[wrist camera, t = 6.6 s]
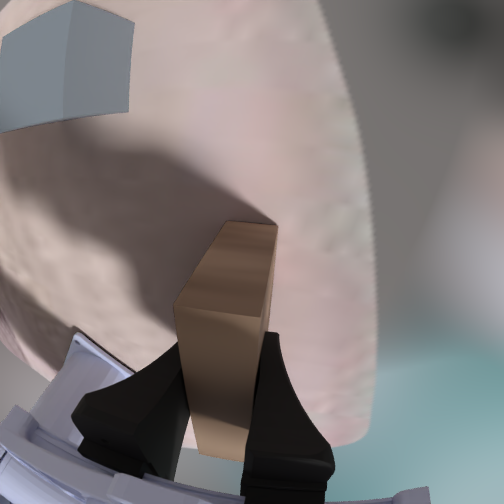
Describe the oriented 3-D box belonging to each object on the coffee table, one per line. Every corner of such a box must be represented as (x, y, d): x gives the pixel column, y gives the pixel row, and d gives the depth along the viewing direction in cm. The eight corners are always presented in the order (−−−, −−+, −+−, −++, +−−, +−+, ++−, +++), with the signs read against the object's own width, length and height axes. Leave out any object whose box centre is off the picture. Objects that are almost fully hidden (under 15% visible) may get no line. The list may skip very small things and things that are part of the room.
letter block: (135, 23, 11) (74, -1, 6) (129, 112, 13) (62, 118, 8) (63, 43, 11) (1, 38, 7) (59, 121, 13) (-5, 134, 9)
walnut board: (263, 369, 19) (246, 462, 12) (226, 364, 19) (199, 454, 13) (278, 225, 14) (260, 317, 8) (226, 220, 14) (173, 304, 8)
